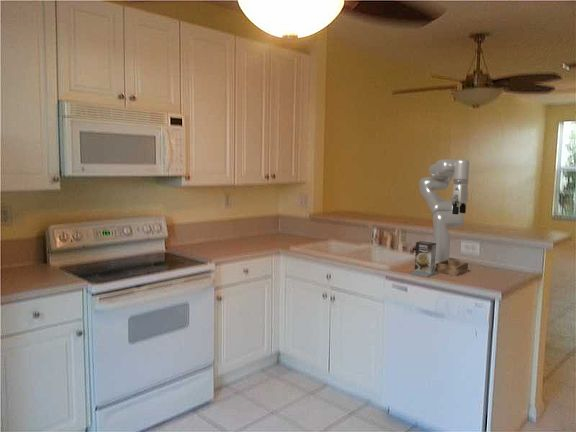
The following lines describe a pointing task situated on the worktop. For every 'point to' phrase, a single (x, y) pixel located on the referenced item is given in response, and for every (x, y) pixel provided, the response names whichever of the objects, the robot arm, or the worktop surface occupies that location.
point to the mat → (423, 273)
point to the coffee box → (425, 257)
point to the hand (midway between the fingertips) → (459, 213)
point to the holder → (452, 267)
